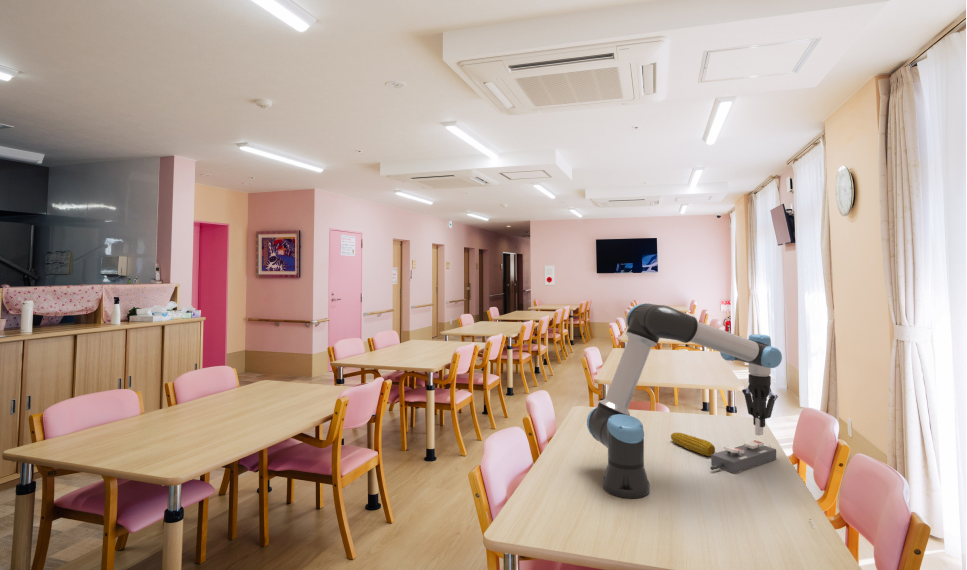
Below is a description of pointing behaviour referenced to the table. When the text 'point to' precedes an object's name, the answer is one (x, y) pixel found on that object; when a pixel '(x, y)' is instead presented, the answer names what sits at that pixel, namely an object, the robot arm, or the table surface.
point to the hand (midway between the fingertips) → (759, 434)
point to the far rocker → (753, 444)
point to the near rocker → (734, 450)
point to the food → (693, 443)
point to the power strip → (742, 458)
